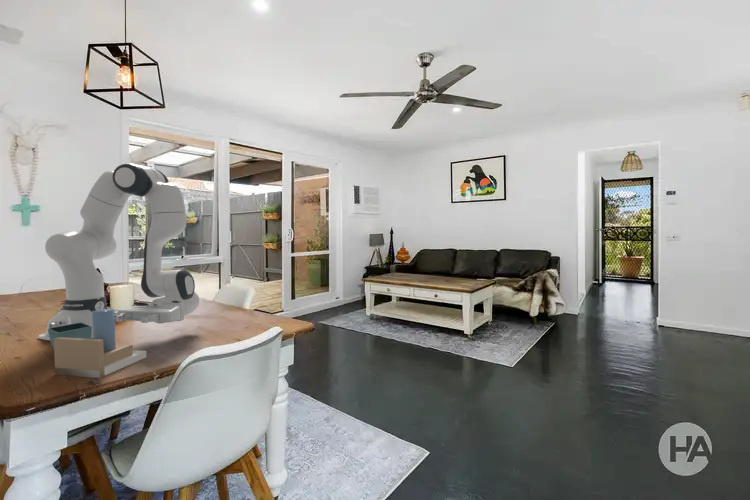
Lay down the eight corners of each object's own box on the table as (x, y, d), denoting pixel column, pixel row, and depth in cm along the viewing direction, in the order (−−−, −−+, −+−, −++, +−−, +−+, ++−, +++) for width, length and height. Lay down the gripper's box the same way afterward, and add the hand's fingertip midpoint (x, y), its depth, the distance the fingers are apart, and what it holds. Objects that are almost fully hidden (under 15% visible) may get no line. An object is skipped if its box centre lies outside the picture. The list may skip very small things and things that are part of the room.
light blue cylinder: (89, 360, 104) (87, 312, 103) (105, 354, 109) (103, 308, 108) (105, 361, 103) (103, 312, 102) (120, 355, 108) (118, 309, 107)
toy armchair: (55, 374, 99) (53, 338, 98) (107, 354, 114) (106, 323, 114) (99, 378, 96) (98, 341, 96) (146, 357, 112) (145, 325, 112)
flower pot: (59, 362, 108) (57, 332, 108) (48, 356, 113) (47, 328, 112) (94, 353, 115) (92, 325, 115) (82, 348, 120) (81, 322, 120)
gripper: (136, 300, 130) (101, 308, 116) (187, 302, 126) (157, 311, 113) (137, 317, 130) (102, 328, 116) (188, 320, 127) (158, 331, 113)
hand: (129, 319), depth 114 cm, fingers open, 8 cm apart
